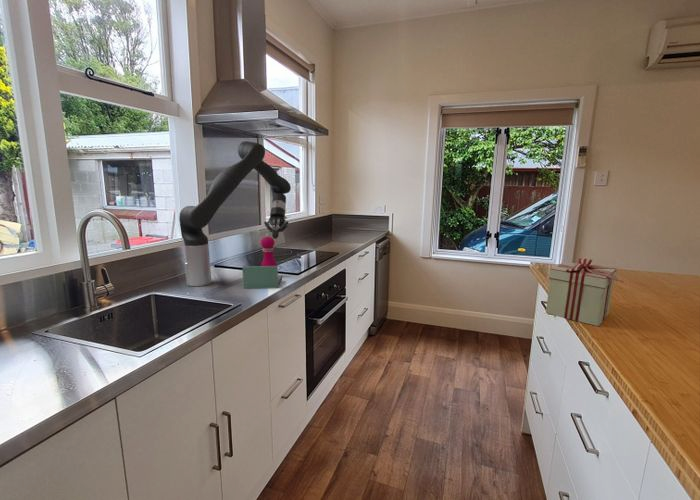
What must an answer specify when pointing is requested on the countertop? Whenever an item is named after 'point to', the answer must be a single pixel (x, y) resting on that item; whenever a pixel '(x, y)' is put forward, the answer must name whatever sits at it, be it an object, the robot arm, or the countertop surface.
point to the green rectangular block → (261, 277)
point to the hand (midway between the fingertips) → (275, 237)
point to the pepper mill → (268, 251)
